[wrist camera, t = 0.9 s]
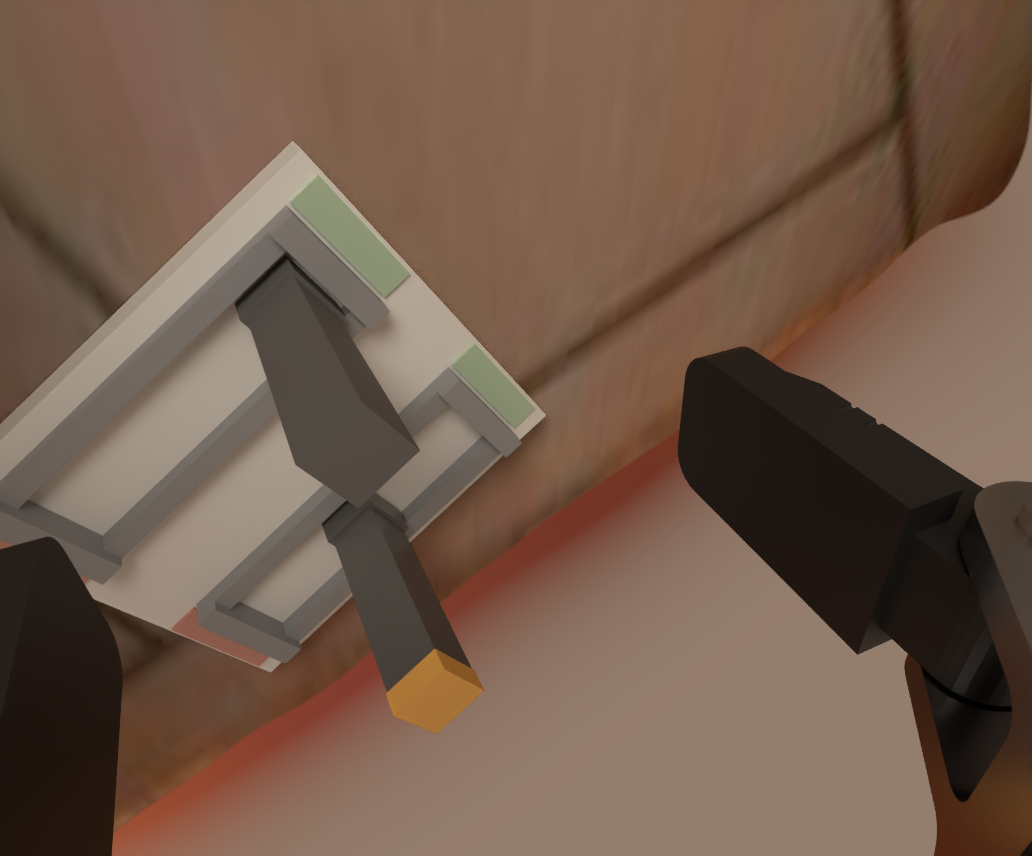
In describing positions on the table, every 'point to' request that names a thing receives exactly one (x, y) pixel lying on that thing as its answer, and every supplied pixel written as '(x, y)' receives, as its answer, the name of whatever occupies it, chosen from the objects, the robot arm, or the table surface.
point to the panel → (255, 421)
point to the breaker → (401, 616)
